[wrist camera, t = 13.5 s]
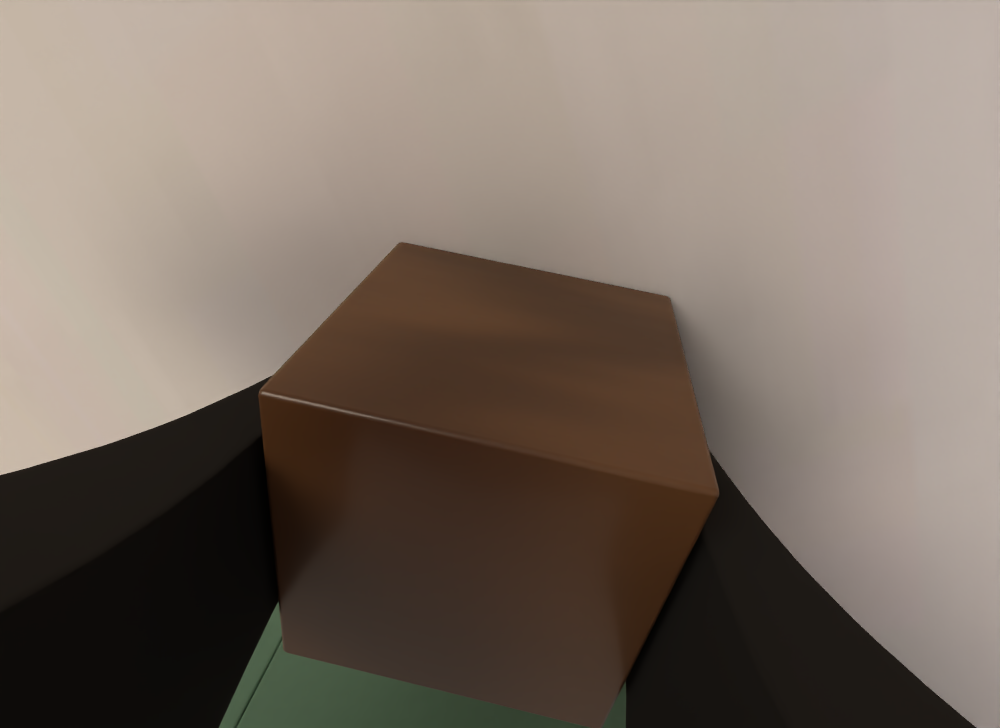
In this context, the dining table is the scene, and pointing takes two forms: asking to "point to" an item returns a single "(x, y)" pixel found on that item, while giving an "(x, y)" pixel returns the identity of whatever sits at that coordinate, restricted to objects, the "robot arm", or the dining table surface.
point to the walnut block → (485, 481)
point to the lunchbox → (361, 698)
